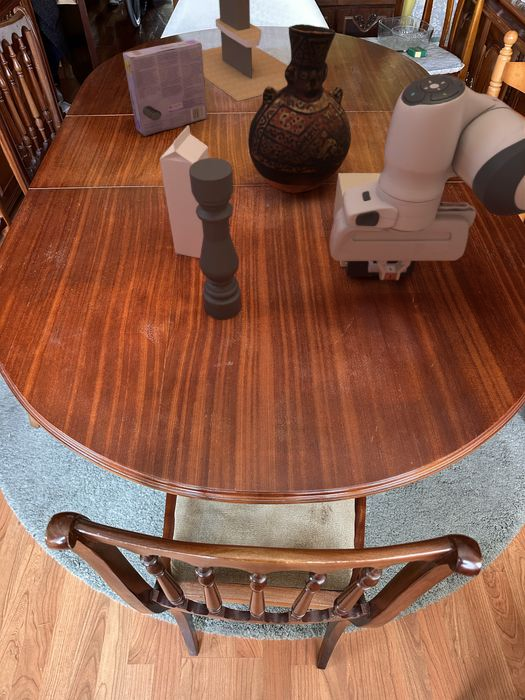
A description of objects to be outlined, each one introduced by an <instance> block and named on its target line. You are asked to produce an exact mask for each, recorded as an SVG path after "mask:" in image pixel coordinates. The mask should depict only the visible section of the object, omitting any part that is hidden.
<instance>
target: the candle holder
mask: <svg viewBox="0 0 525 700" xmlns="http://www.w3.org/2000/svg"><path fill="white" fill-rule="evenodd" d="M233 170H234V169H233V165H232V164H231V163H230V162H229V161H228V160H226V159H223V158H218V157H209V158H207V159H201V160H199V161H197V162H194V163H193V164H192V165H191V166H190V169H189V175H190V183H191V191H192V194H193V196H194V198H195V199H196V201H197V202H198V204H199V205H198V206H197V207H196V214H197V216H198V218H199V219H200V220H202V227H203V242H202V249H201V255H200V258H199V261H198V265H199V266H198V267H199V269H200V270H201V273H202V275H203V276H204V277H205V278H206V279H205V281H204V282H203V290H202V298H203V306H204V310H205V313H206V315H208V317H210V318H212V319H214V320H215V319H216V320H229V319H232V318H234V317H236V316H237V315H239V313H240V312H241V310H242V292H241V288H240V286H239V285H240V283H239V281H238V279H237V277H236V276H235V275H236V273H237V272H238V270H239V267H240V266H239V265H240V258H239V256H238V253H237V250H236V247H235V245H234V242H233V239H232V236H231V232H230V218H231V217H232V216H233V213H234V212H233V211H234V207H233V205H232V203H230V200H231V199H232V196H233V194H234V171H233Z"/></svg>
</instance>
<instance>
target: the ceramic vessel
mask: <svg viewBox="0 0 525 700" xmlns="http://www.w3.org/2000/svg"><path fill="white" fill-rule="evenodd" d="M335 36H336V31H335V30H334V29H333V28H327V27H324V26H316V25H311V24H304V23H303V24H302V23H300V24H294V25H290V26H289V27H288V38H289V44H290V61H289V63H288V64H287V65H288V66H287V68H286V70H285V79H286V81H287V86H286V87H284V88H282V89H281V90H278V91H277V90H275V89H274V88H273V87H271V86H267V87H266V88H265V89H264V92H263V95H262V101H261V102H262V103H261V106H260V107H259V108H258V109H257V111H256V112H255V114H254V116H253V118H252V119H251V121H250V125H249V130H248V138H247V139H248V141H247V142H248V152H249V156H250V159H251V161H252V164H253V166H254V168H255V170H256V171H257V172H258V174H259V175H260V176H261V177H262V179H263V180H265V182H266V183H268V184H269V185H271V186H272V187H274V188H275V189H278V190H280V191H283V192H286V193H293V194H297V193H305V192H309V191H312V190H315V189H316V188H318V187H319V186H321V185H322V184H325V182H327V181H328V180H329V179H331V178H332V177H333V176H334V175H335V174H336V173H337V171H339V169H340V167H342V165H343V163H344V162H345V159H346V158H347V156H348V154H349V151H350V148H351V144H352V132H351V124H350V120H349V117H348V116H347V113H346V111H345V109H344V108H343V106H342V101H343V96H344V89H343V88H342V87H339V86H335V87H333V88H330V89H326V88H324V87H323V84H324V83H325V81H326V79H327V77H328V70H329V66H328V63H327V62H326V60H327V58H328V54H329V50H330V48H331V46H332V43H333V41H334V39H335Z"/></svg>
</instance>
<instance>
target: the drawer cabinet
mask: <svg viewBox="0 0 525 700" xmlns="http://www.w3.org/2000/svg"><path fill="white" fill-rule="evenodd" d="M380 174H381V172H338V173H337V179H336V180H337V181H336V190H335V199H334V205H333V206H334V207H333V214H332V216H333V217H332V218H333V220H334V219H335V216H336V214H337V213H338V211H339V210H340V209H341V208H343V194H344V192H345V191H346V190H348V189H351V188H355V187H358V186H362V185H365V184H368V183H371V182H374V181H376V180H379V177H380ZM339 265H340V268H346V267H347V261H339Z"/></svg>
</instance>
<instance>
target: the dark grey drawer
mask: <svg viewBox="0 0 525 700" xmlns="http://www.w3.org/2000/svg"><path fill="white" fill-rule="evenodd" d="M397 262H398V261H387V263H386V265H389V266H390V265H395V264H396V263H397ZM416 262H417V261H411V263H410V265H409V266H408V267H407V268H406V269H405V270H404V271H402V272H401V273H400V277H412V275H413V272H414V268H415V265H416ZM345 268H346V269H345V275H346V277H379V270H380V269H379V267H378V265H377V261H347V267H345Z"/></svg>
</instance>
